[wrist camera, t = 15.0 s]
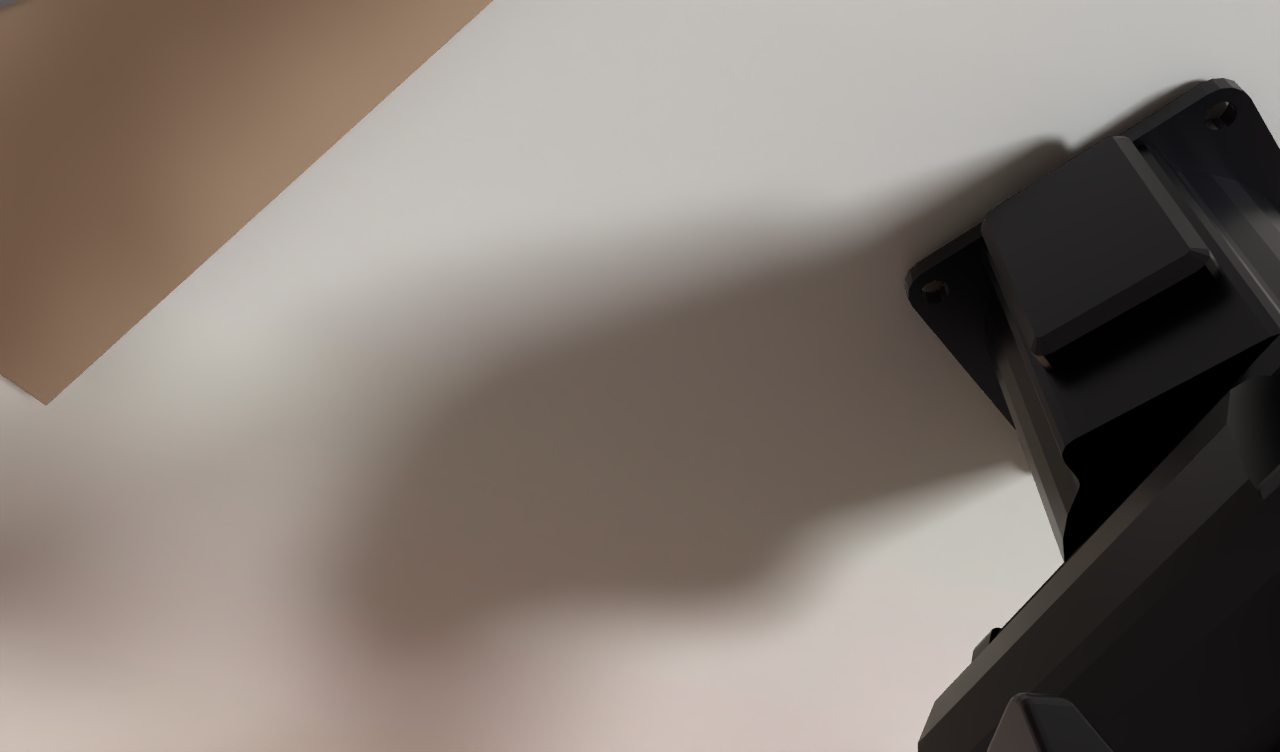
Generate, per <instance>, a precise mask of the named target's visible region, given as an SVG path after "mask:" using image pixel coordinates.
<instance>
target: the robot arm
mask: <svg viewBox="0 0 1280 752" xmlns="http://www.w3.org/2000/svg"><path fill="white" fill-rule="evenodd" d="M1220 102H1228V106H1227V108H1226V111H1225V112H1224V113H1223V114H1222V115H1221V116H1220V117H1218V118H1215V119H1213V120H1205V116H1206V114H1207V111H1208V110H1209V109H1210V108H1211V107H1212V106H1214V105H1215V104H1217V103H1220ZM932 281H943V282H944V285H943V286H942V287H941V288H940V289H939V290H937V291H934V292H925V291H923V290H922V288H923V287H924V286H925V285H926V284H927V283H929V282H932ZM905 289H906V292H907V296H908V299H909V301H910V303H911V305H912V307H913V308H914V309H915V310H916V312H917V313H918V314H919V315H920V316H921V317H922V319H923V320H924V321H925V322H926V323H927V325H928V326H929V327H930V328H931V329H932V331H933V332H934V333H935V334H936V335H937V337H938V338H939V339H940V340H941V341H942V343H943V344H944V345H945V346H946V347H947V348H948V350H949V351H950V352H951V353H952V354H953V356H954V357H955V358H956V359H957V360H958V362H959V363H960V364H961V365H962V366H963V368H964V369H965V370H966V371H967V372H968V374H969V375H970V376H971V377H972V378H973V379H974V381H975V382H976V383H977V384H978V385H979V387H980V388H981V389H982V390H983V391H984V393H985V394H986V395H987V396H988V397H989V399H990V400H991V401H992V402H993V403H994V405H995V406H996V407H997V408H998V409H999V410H1000V412H1001V413H1002V414H1003V415H1004V416H1005V418H1006V419H1007V420H1008V421H1009V422H1010V424H1011V425H1012V426H1013V427H1014V428H1015V430H1016V431H1017V433H1018V436H1019V439H1020V442H1021V445H1022V447H1023V450H1024V453H1025V456H1026V458H1027V461H1028V464H1029V467H1030V469H1031V472H1032V475H1033V478H1034V481H1035V483H1036V486H1037V489H1038V492H1039V494H1040V497H1041V500H1042V503H1043V505H1044V508H1045V511H1046V514H1047V517H1048V519H1049V522H1050V525H1051V528H1052V530H1053V533H1054V536H1055V539H1056V541H1057V544H1058V547H1059V550H1060V552H1061V555H1062V558H1063V561H1064V563H1063V564H1062V565H1061V566H1060V567H1059V569H1058V570H1057V571H1056V572H1055V573H1054V574H1053V575H1052V576H1051V577H1050V578H1049V579H1048V580H1047V581H1046V582H1045V583H1044V584H1043V585H1042V586H1041V588H1040V589H1039V590H1038V591H1037V592H1036V593H1035V594H1034V595H1033V596H1032V597H1031V598H1030V599H1029V600H1028V601H1027V602H1026V603H1025V604H1024V605H1023V607H1022V608H1021V609H1020V610H1019V611H1018V612H1017V613H1016V614H1015V615H1014V616H1013V617H1012V618H1011V619H1010V620H1009V621H1008V622H1007V623H1006V625H1005V626H1004V627H1003V628H994V629H992V630H991V631H990V632H989V634H988V635H987V636H986V637H985V638H984V639H983V640H982V641H981V642H980V643H979V644H978V645H977V646H976V647H975V649H974V651H973V656H972V662H971V664H970V665H969V666H968V667H967V668H966V669H965V670H964V671H963V672H962V673H961V674H960V676H959V677H958V678H957V679H956V680H955V681H954V682H953V683H952V684H951V685H950V686H949V687H948V688H947V689H946V690H945V691H944V692H943V693H942V695H941V696H940V697H939V698H938V699H937V700H936V701H935V703H934V705H933V708H932V710H931V712H930V715H929V717H928V720H927V722H926V725H925V727H924V729H923V732H922V734H921V737H920V739H919V742H918V752H1280V149H1279V147H1278V146H1277V144H1276V142H1275V140H1274V138H1273V137H1272V135H1271V133H1270V131H1269V130H1268V128H1267V126H1266V124H1265V123H1264V121H1263V119H1262V117H1261V115H1260V114H1259V112H1258V110H1257V108H1256V107H1255V105H1254V103H1253V101H1252V100H1251V98H1250V97H1249V96H1248V95H1247V94H1246V93H1245V92H1244V91H1243V90H1242V89H1241V88H1240V87H1239V86H1238V85H1237V84H1236V83H1235V82H1234V81H1232V80H1228V79H1225V78H1219V79H1211V80H1209V81H1206V82H1204V83H1202V84H1200V85H1198V86H1196V87H1195V88H1193V89H1192V90H1190V91H1188V92H1187V93H1185V94H1184V95H1182V96H1181V97H1179V98H1177V99H1176V100H1174V101H1173V102H1171V103H1169V104H1168V105H1166V106H1165V107H1163V108H1162V109H1160V110H1158V111H1157V112H1155V113H1154V114H1152V115H1151V116H1149V117H1147V118H1146V119H1144V120H1143V121H1141V122H1139V123H1138V124H1136V125H1135V126H1133V127H1132V128H1130V129H1128V130H1127V131H1125V132H1124V133H1122V134H1120V135H1119V136H1109V137H1106V138H1104V139H1103V140H1101V141H1100V142H1098V143H1097V144H1095V145H1093V146H1092V147H1090V148H1089V149H1087V150H1086V151H1084V152H1082V153H1081V154H1079V155H1078V156H1076V157H1075V158H1073V159H1071V160H1070V161H1068V162H1067V163H1065V164H1064V165H1062V166H1060V167H1059V168H1057V169H1056V170H1054V171H1053V172H1051V173H1049V174H1048V175H1046V176H1045V177H1043V178H1042V179H1040V180H1038V181H1037V182H1035V183H1034V184H1032V185H1031V186H1029V187H1027V188H1026V189H1024V190H1023V191H1021V192H1019V193H1018V194H1016V195H1015V196H1013V197H1012V198H1010V199H1008V200H1007V201H1005V202H1004V203H1002V204H1001V205H999V206H997V207H996V208H994V209H993V210H991V211H990V212H988V213H987V214H986V216H985V218H984V220H983V222H981V223H980V224H978V225H977V226H975V227H974V228H972V229H970V230H969V231H967V232H966V233H964V234H963V235H961V236H959V237H958V238H956V239H955V240H953V241H951V242H950V243H948V244H947V245H945V246H944V247H942V248H940V249H939V250H937V251H936V252H934V253H932V254H931V255H929V256H928V257H926V258H925V259H923V260H921V261H920V262H918V263H917V264H916V265H915V266H913V267H912V268H911V269H910V270H909V272H908V274H907V276H906V278H905Z"/></svg>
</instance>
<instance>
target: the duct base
mask: <svg viewBox="0 0 1280 752" xmlns="http://www.w3.org/2000/svg"><path fill="white" fill-rule="evenodd" d="M492 1H493V0H0V374H1V375H3V376H4V377H6V378H7V379H9V380H10V381H11V382H13V383H14V384H16V385H17V386H19V387H20V388H22V389H23V390H24V391H26V392H27V393H29V394H30V395H32V396H33V397H35V398H36V399H37V400H39V401H40V402H42V403H43V404H45V405H47V404H48V403H50V402H51V401H52V400H53V399H54V398H55V397H56V396H57V395H58V394H59V393H61V392H62V391H63V390H64V389H65V388H66V387H67V386H68V385H69V384H70V383H72V382H73V381H74V380H75V379H76V378H77V377H78V376H79V375H80V374H82V373H83V372H84V371H85V370H86V369H87V368H88V367H89V366H90V365H91V364H93V363H94V362H95V361H96V360H97V359H98V358H99V357H100V356H101V355H102V354H104V353H105V352H106V351H107V350H108V349H109V348H110V347H111V346H112V345H113V344H115V343H116V342H117V341H118V340H119V339H120V338H121V337H122V336H123V335H125V334H126V333H127V332H128V331H129V330H130V329H131V328H132V327H133V326H134V325H136V324H137V323H138V322H139V321H140V320H141V319H142V318H143V317H144V316H145V315H147V314H148V313H149V312H150V311H151V310H152V309H153V308H154V307H155V306H157V305H158V304H159V303H160V302H161V301H162V300H163V299H164V298H165V297H166V296H168V295H169V294H170V293H171V292H172V291H173V290H174V289H175V288H176V287H177V286H179V285H180V284H181V283H182V282H183V281H184V280H185V279H186V278H187V277H188V276H190V275H191V274H192V273H193V272H194V271H195V270H196V269H197V268H198V267H200V266H201V265H202V264H203V263H204V262H205V261H206V260H207V259H208V258H209V257H211V256H212V255H213V254H214V253H215V252H216V251H217V250H218V249H219V248H220V247H222V246H223V245H224V244H225V243H226V242H227V241H228V240H229V239H230V238H231V237H233V236H234V235H235V234H236V233H237V232H238V231H239V230H240V229H241V228H243V227H244V226H245V225H246V224H247V223H248V222H249V221H250V220H251V219H252V218H254V217H255V216H256V215H257V214H258V213H259V212H260V211H261V210H262V209H263V208H265V207H266V206H267V205H268V204H269V203H270V202H271V201H272V200H273V199H275V198H276V197H277V196H278V195H279V194H280V193H281V192H282V191H283V190H284V189H286V188H287V187H288V186H289V185H290V184H291V183H292V182H293V181H294V180H295V179H297V178H298V177H299V176H300V175H301V174H302V173H303V172H304V171H305V170H306V169H308V168H309V167H310V166H311V165H312V164H313V163H314V162H315V161H316V160H318V159H319V158H320V157H321V156H322V155H323V154H324V153H325V152H326V151H327V150H329V149H330V148H331V147H332V146H333V145H334V144H335V143H336V142H337V141H338V140H340V139H341V138H342V137H343V136H344V135H345V134H346V133H347V132H348V131H349V130H351V129H352V128H353V127H354V126H355V125H356V124H357V123H358V122H359V121H361V120H362V119H363V118H364V117H365V116H366V115H367V114H368V113H369V112H370V111H372V110H373V109H374V108H375V107H376V106H377V105H378V104H379V103H380V102H381V101H383V100H384V99H385V98H386V97H387V96H388V95H389V94H390V93H391V92H393V91H394V90H395V89H396V88H397V87H398V86H399V85H400V84H401V83H402V82H404V81H405V80H406V79H407V78H408V77H409V76H410V75H411V74H412V73H413V72H415V71H416V70H417V69H418V68H419V67H420V66H421V65H422V64H423V63H424V62H426V61H427V60H428V59H429V58H430V57H431V56H432V55H433V54H434V53H436V52H437V51H438V50H439V49H440V48H441V47H442V46H443V45H444V44H445V43H447V42H448V41H449V40H450V39H451V38H452V37H453V36H454V35H455V34H456V33H458V32H459V31H460V30H461V29H462V28H463V27H464V26H465V25H466V24H467V23H469V22H470V21H471V20H472V19H473V18H474V17H475V16H476V15H477V14H479V13H480V12H481V11H482V10H483V9H484V8H485V7H486V6H487V5H488V4H490V3H491V2H492Z"/></svg>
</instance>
